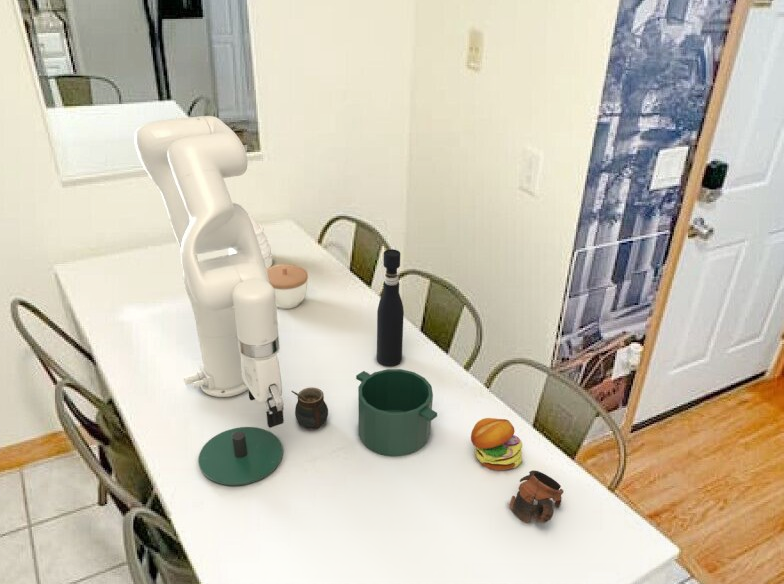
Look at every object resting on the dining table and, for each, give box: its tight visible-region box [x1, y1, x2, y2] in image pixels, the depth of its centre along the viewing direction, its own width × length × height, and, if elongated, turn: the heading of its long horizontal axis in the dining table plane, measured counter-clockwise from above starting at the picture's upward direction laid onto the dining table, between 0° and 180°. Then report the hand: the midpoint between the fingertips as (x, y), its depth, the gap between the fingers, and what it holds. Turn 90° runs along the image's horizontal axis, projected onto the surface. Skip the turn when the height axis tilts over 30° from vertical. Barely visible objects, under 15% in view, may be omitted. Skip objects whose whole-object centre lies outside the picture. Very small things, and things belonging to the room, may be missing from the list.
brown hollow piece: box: [509, 469, 564, 524], centre depth 123 cm, size 12×10×8 cm
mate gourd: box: [290, 387, 329, 430], centre depth 139 cm, size 7×8×10 cm
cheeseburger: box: [470, 417, 523, 471], centre depth 135 cm, size 10×11×10 cm
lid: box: [198, 426, 284, 486], centre depth 130 cm, size 17×17×6 cm
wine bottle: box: [376, 248, 405, 368], centre depth 155 cm, size 6×6×30 cm
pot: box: [355, 368, 438, 457], centre depth 138 cm, size 16×21×12 cm
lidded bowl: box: [267, 264, 309, 310], centre depth 181 cm, size 13×13×11 cm
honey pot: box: [228, 212, 273, 269], centre depth 198 cm, size 13×13×18 cm
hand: (266, 410), depth 132 cm, fingers open, 9 cm apart
